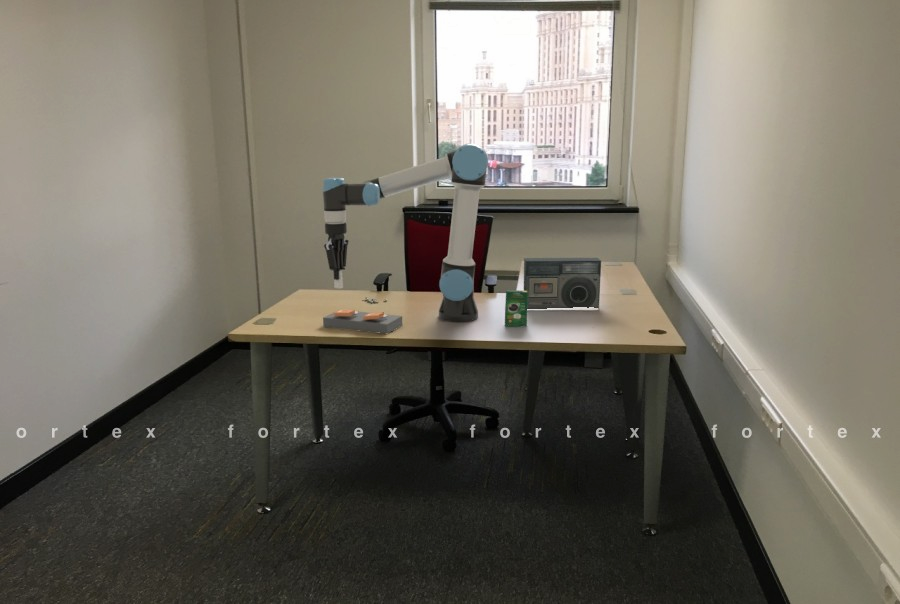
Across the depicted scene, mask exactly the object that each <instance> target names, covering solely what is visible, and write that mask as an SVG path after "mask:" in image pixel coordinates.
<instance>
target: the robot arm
mask: <svg viewBox="0 0 900 604" xmlns="http://www.w3.org/2000/svg"><path fill="white" fill-rule="evenodd" d="M488 167H489V157H488V154H487V152H486V151H485V149H484V148H483V147H482V146H480V145H479V144H476V143H465V144H463V145H461V146H460V147H458V148H457V149H455V150H452V151H450V152H448V153H446V154H444V156H443V157H441V158H437V159H434V160H431V161H428V162H425V163H421V164H418V165H415V166H412V167H408V168H404V169H402V170H399V171H395V172H392V173H389V174H386V175H383V176H380V177H375V178H374V179H373V178H372V179H370V180H366V181H363V182H361V183H346V182H345V179H344V178H343V177H328V178H324V179H323V181H322V197H323V210H324V211H323V212H324V214H323V216H324V222H325V223H324V233H325V234H326V235H327V238H328V239H327V243H325V244H324V245H323V247H324V249H325V252H326V258H327V263H328V268H329V269H328V270H330V271H333V284H334V285H333V286H334V289H343V288H344V278H343V277H344V274H343V270H344V271H345V270H346V267H347V259H348V258H347V255H348V246H349V239H346V238H345V234H346V233H347V232H348V230H347V229H348V228H347V223H346V221H347V209H346V206H368V207H370V206H378V205H379V204H380V201H381V200H382V199H384V198H388V197H391V196H393V195H397V194H401V193H404V192H408V191H411V190H414V189H417V188H420V187H424V186H427V185H430V184H433V183H437V182H440V181H444V180H447V179H451V182H450V183H451V185H452V186H453V187H454V195H453V203H452V212H451V213H452V214H451V223H450V230H449V231H450V232H449V241H448V249H447V256H445V257H444V258H443V259H442V264H441V273H440V279H439V284H438V286H439V290H440V292H441V293H442V299H441V302H440V305H439V308H438V318H439V319H440V320H442V321H445V322H453V323H457V322H459V323H462V322H463V323H464V322H470V321H474V320H477V319H478V318H479V309H478V307H477V304H476V300H475V297H474V291H475V289H474V288H475V287H474V283H475V282H474V281H475V280H474V279H475V271H476V270H475V269H476V262H475V261H474V259H473V251H474V241H475V236H476V235H475V234H476V232H475V231H476V227H477V226H476V225H477V218H478V217H477V216H478V209H479V200H480V191H481V189H483V188H484V187H485V185H486V178H487V171H488V170H487V169H488Z"/></svg>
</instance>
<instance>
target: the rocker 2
mask: <svg viewBox="0 0 900 604" xmlns="http://www.w3.org/2000/svg"><path fill="white" fill-rule="evenodd" d="M369 313H370V314H367V315H365V316H363V317H364V320H367V319H378V318H381V317H382V316H384V314H385V312H369Z"/></svg>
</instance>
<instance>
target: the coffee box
mask: <svg viewBox="0 0 900 604" xmlns="http://www.w3.org/2000/svg"><path fill="white" fill-rule="evenodd" d="M504 307H505V308H504V327H510V326H511V327H521V326H523V327H528V311H527V308H528V291H524V290H511V289H509V290H508V289H506V290H505V306H504Z"/></svg>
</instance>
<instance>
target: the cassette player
mask: <svg viewBox="0 0 900 604" xmlns="http://www.w3.org/2000/svg"><path fill="white" fill-rule="evenodd" d="M601 269H602V260H601V259H600V258H599V257H524V259H523V291H528V308H527V309H547V308H573V307H587V308H589V307H594V308H599V309H600V291H601V275H602V274H601V273H602V271H601Z"/></svg>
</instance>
